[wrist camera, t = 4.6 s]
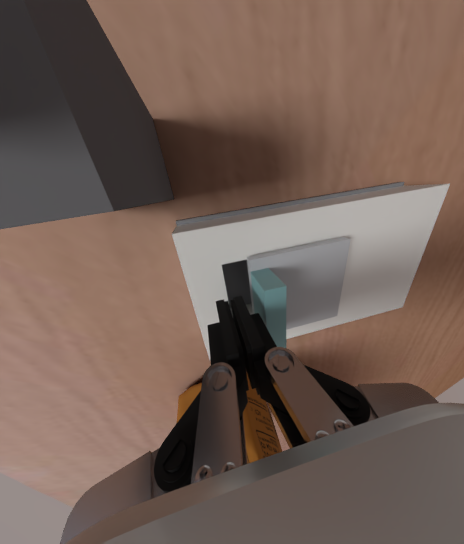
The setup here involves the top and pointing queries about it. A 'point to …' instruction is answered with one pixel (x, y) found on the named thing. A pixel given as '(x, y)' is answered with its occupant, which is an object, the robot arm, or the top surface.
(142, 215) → the top surface
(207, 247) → the socket
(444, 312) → the top surface
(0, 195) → the plug
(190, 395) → the coffee package
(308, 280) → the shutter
